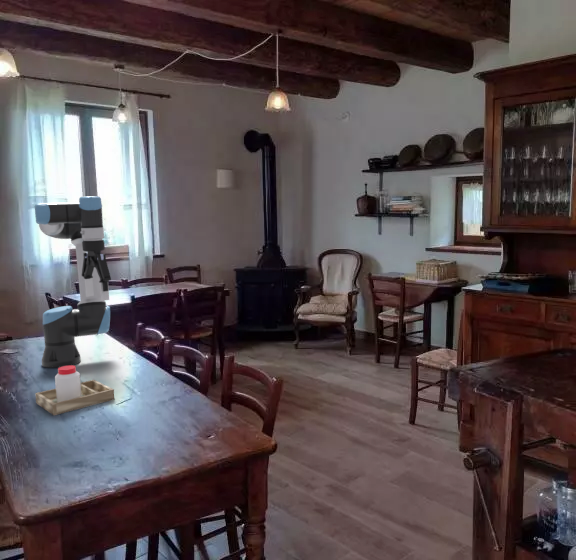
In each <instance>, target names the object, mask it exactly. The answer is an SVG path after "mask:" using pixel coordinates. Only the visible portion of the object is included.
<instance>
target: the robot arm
mask: <svg viewBox="0 0 576 560" xmlns="http://www.w3.org/2000/svg"><path fill="white" fill-rule="evenodd" d="M34 213H35V214H34V215H35V222H36V224H38V227H39V229H40V231H41V232H42V233H43V234H44V235H45V236H47V237H50V238H54V239H58V240H59V239H61V240H63V239H64V240H70V241H71V244H72V245H73V246H74V247H75V257H76V267H77V275H78V276H77V277H78V286H79V287H78V288H79V296H80V297H79V298H80V300H79V302H78V303H77V305H76V306H77V308H74V309H73V306H71V305H64V306H59V307H53V308H51V309H48V310H45V312H43V313H42V323H41V324H42V326H43V327H42V328H43V337H44V338H43V339H44V340H43V341H44V350H43V353H42V357H41V366H42V367H43V368H49V369H51V368H52V369H54V368H57V369H58V368H59V367H62V366H68V365H73V366H75V365H77V364H79V363H80V362H81V354H80V351H79V350H78V347H77V345H76V340H75V339H76V338H77V337H86V336H95V335H96V336H99V335H102V334H107V333H108V332H109V331H110V326H111V325H110V322H111V306H109V305H107V303H106V301H110V291H109V281H112V277H111V273H110V271H109V266H108V262H107V257H106V253H102V251H104V250H105V248H106V247H105V239H104V238H105V233H104V232H105V230H104V223H103V221H104V220H103V219H104V218H103V204H102V198H101V197H100V196H96V195H95V196H94V195H93V196H81V197H79V199H78V202H42V203H36V204H35V205H34Z"/></svg>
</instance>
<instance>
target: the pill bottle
mask: <svg viewBox="0 0 576 560" xmlns="http://www.w3.org/2000/svg"><path fill="white" fill-rule="evenodd" d="M54 381H55V382H54V383H55V389H56V397H57V402H61V401H65V400H69V399H73V398H78V397H82V394H81V383H82V381H81V373H80V372H79V371H77V367H76V365H68V366H62V367H57V373H56V375H55V376H54Z"/></svg>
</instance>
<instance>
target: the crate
mask: <svg viewBox="0 0 576 560" xmlns="http://www.w3.org/2000/svg"><path fill="white" fill-rule="evenodd" d="M81 394H82V397H78V398H73V399H69V400H65V401H61V402H57V397H56V388H52V389H47V390H43V391H40V392H39V391H38V392H36V393H35V394H34V396H35V404H36V405H38V406H40V407H41V408H42V409H43V410H45V411H46V412H48V413H50V414H51V415H52V416H57V415H61V414H65V413H68V412H69V413H70V412H72V411H76V410H77V411H78V410H81V409H83V408H84V409H85V408H88V407H91V406H96V405H98V404H99V405H100V404H103V403H107V402H110V401H115V399H116V398H115V389H114V388H112V387H110V386H109V385H108V386H107V385H106V384H104V383H102V382H100V381H97V380H95V379H91V380H86V381H81Z"/></svg>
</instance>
